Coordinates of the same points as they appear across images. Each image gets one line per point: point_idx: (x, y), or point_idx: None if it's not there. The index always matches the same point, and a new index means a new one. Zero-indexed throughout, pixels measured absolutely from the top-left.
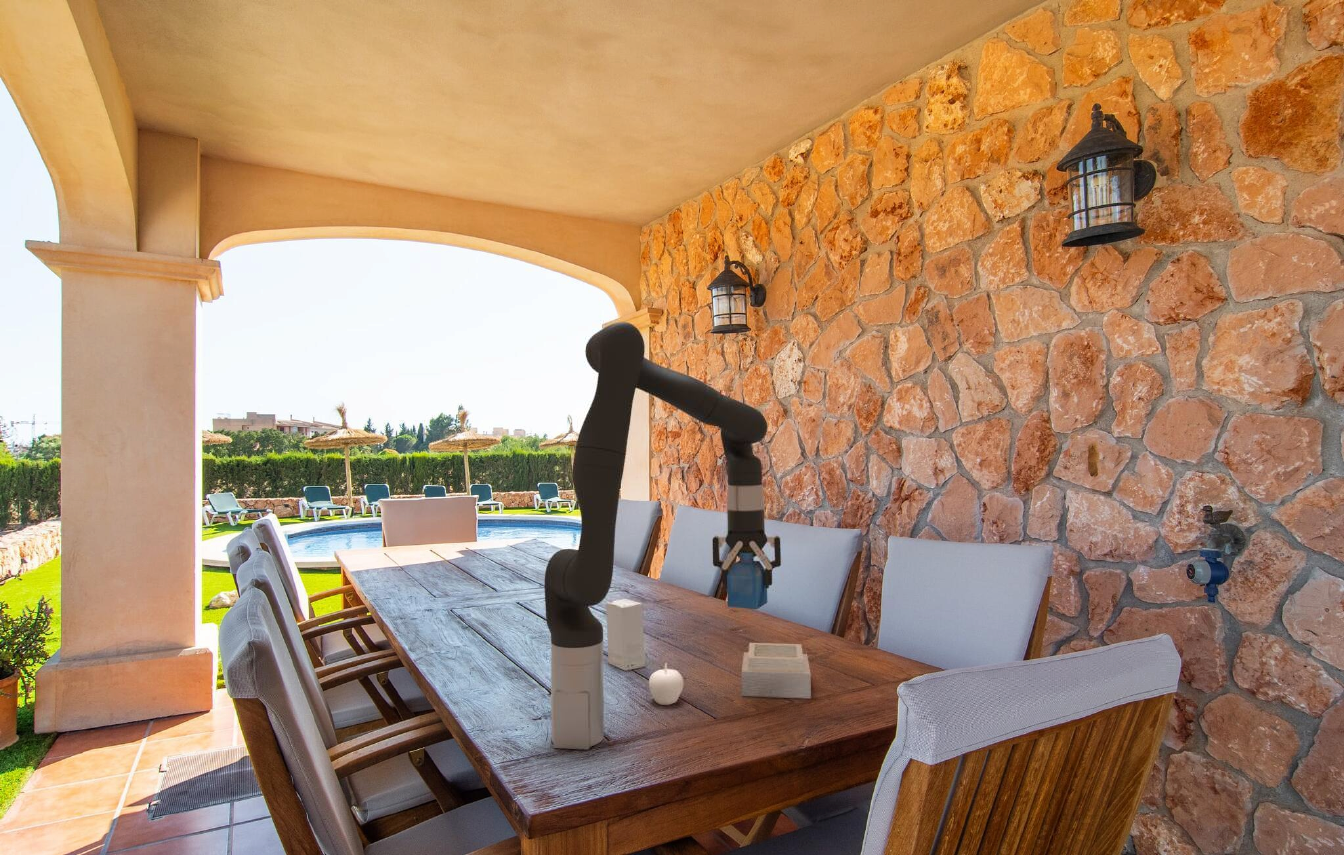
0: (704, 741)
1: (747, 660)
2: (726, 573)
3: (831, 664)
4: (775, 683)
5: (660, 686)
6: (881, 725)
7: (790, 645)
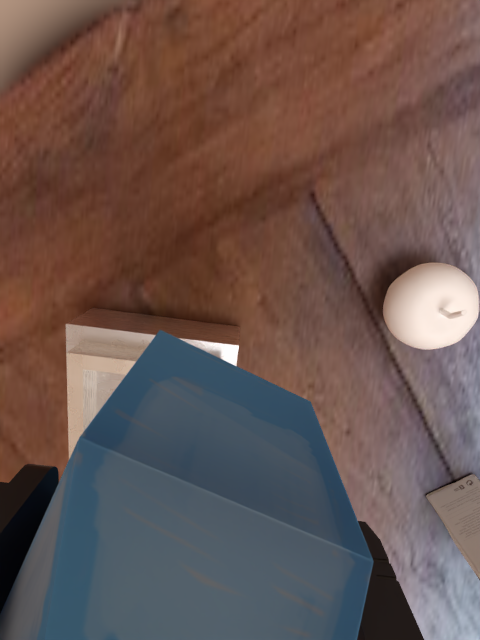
0: (353, 43)
1: None
2: (378, 607)
3: None
4: (160, 326)
5: (453, 266)
6: None
7: None
